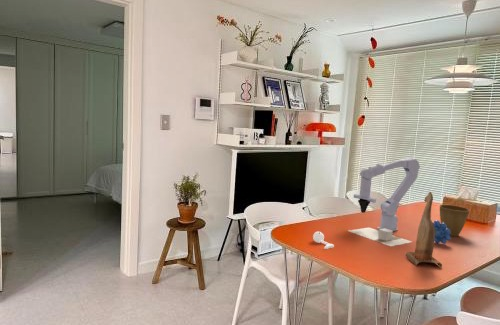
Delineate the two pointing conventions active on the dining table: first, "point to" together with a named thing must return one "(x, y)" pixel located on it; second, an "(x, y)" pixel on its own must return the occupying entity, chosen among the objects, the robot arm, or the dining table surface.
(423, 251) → the bird sculpture
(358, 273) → the dining table surface
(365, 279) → the dining table surface
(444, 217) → the plant pot
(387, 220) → the robot arm
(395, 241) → the subfloor board
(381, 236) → the cream white cube
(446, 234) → the grapes
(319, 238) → the figurine
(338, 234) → the dining table surface
